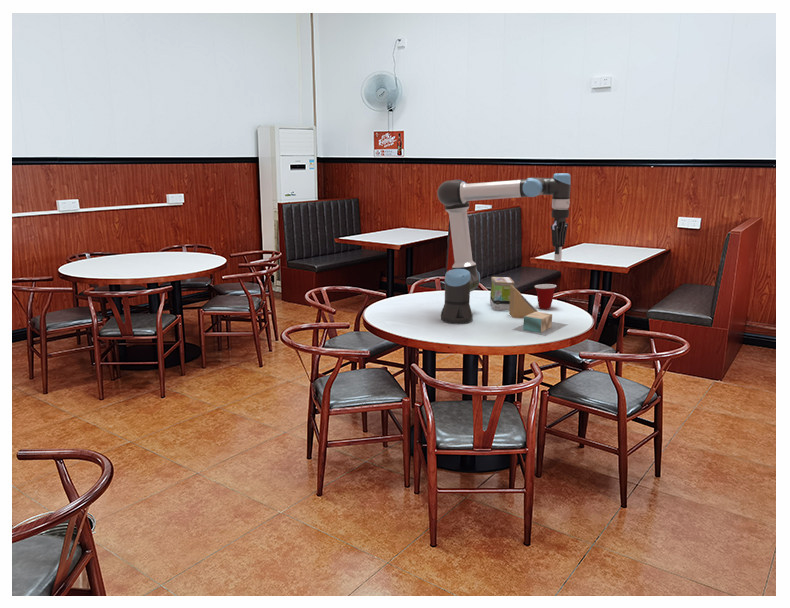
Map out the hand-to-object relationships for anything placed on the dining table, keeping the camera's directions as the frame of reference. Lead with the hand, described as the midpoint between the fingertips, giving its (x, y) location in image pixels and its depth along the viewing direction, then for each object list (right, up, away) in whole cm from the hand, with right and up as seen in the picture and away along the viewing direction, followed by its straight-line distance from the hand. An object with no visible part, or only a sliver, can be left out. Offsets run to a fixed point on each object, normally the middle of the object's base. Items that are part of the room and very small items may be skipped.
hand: (557, 261), depth 282 cm
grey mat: (-8, -30, -2) cm, 31 cm away
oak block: (-7, -26, -1) cm, 27 cm away
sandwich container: (-10, -26, +18) cm, 33 cm away
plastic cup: (+2, -22, +34) cm, 41 cm away
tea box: (-20, -21, +36) cm, 46 cm away
